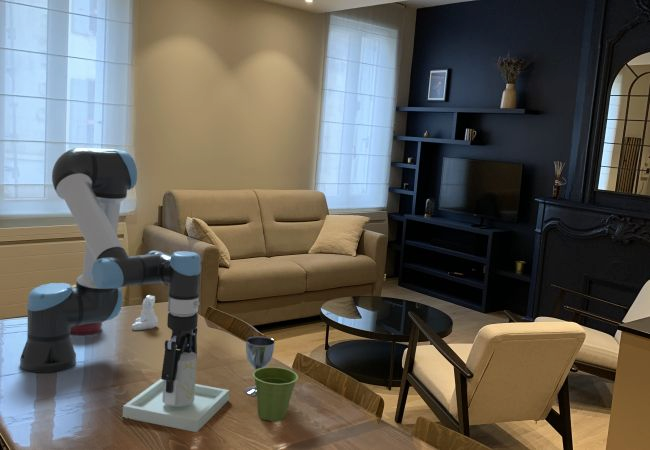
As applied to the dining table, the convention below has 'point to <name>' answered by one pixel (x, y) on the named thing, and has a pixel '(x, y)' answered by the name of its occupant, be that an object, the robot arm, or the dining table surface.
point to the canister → (86, 327)
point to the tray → (176, 407)
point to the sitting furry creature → (146, 315)
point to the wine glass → (258, 355)
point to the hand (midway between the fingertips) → (178, 396)
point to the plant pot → (274, 391)
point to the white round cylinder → (184, 380)
